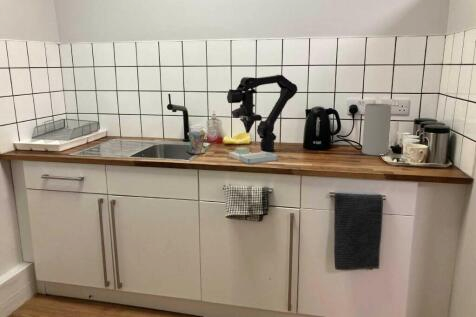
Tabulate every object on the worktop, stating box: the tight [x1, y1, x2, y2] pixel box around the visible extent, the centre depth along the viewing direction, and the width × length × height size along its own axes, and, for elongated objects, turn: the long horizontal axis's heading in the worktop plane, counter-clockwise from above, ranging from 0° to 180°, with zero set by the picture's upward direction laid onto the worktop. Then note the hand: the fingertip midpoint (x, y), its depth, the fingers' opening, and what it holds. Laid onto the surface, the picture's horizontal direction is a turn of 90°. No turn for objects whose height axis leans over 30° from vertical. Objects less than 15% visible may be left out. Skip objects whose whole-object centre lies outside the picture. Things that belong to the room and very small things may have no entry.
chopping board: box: [228, 150, 267, 161], centre depth 200 cm, size 16×11×2 cm
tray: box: [238, 152, 279, 165], centre depth 191 cm, size 16×9×2 cm, turn 118°
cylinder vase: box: [361, 103, 393, 157], centre depth 203 cm, size 12×12×25 cm
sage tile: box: [234, 146, 249, 155], centre depth 198 cm, size 5×5×2 cm
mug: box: [187, 131, 206, 155], centre depth 206 cm, size 12×9×11 cm
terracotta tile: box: [247, 145, 261, 153], centre depth 201 cm, size 5×5×2 cm
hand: (247, 132), depth 205 cm, fingers closed
